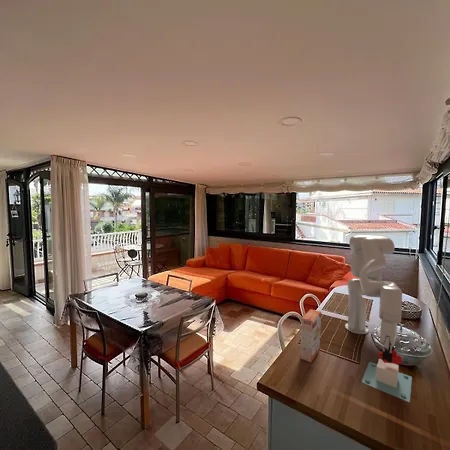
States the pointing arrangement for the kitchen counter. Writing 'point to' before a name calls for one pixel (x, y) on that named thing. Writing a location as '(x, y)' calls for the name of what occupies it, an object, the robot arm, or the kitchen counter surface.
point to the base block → (387, 373)
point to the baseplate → (402, 385)
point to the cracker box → (310, 335)
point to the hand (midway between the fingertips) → (388, 356)
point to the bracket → (395, 358)
